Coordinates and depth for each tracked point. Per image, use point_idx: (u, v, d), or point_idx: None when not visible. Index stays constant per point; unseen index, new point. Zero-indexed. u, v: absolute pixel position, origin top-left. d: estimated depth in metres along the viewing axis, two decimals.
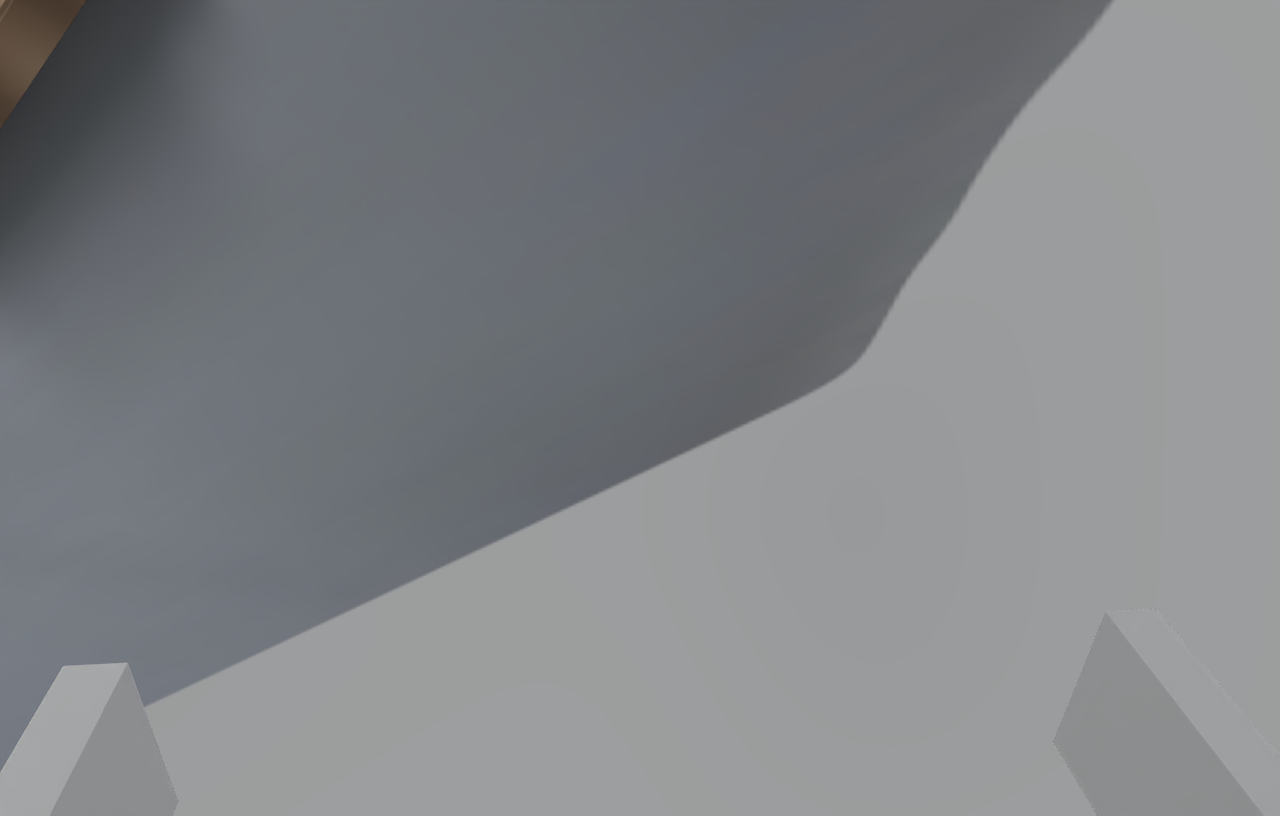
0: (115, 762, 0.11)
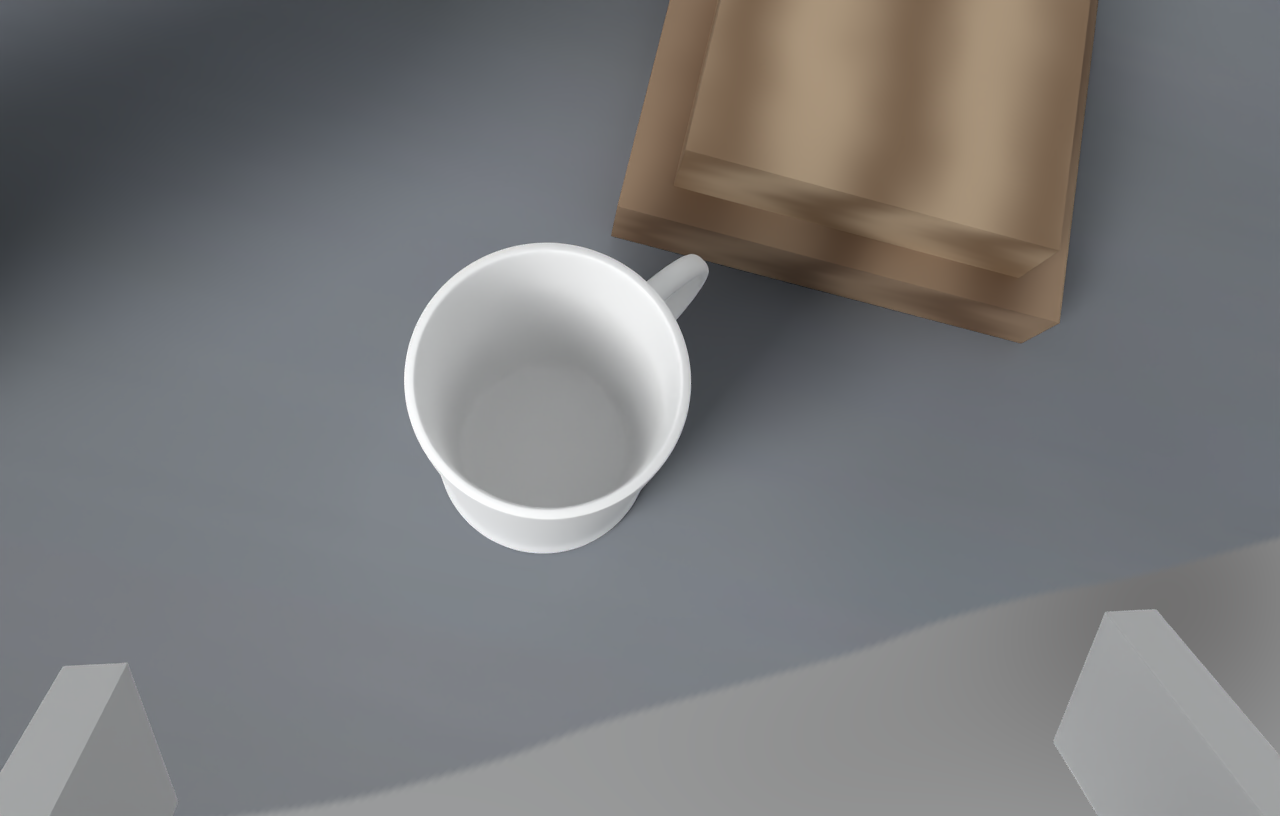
0: (115, 762, 0.11)
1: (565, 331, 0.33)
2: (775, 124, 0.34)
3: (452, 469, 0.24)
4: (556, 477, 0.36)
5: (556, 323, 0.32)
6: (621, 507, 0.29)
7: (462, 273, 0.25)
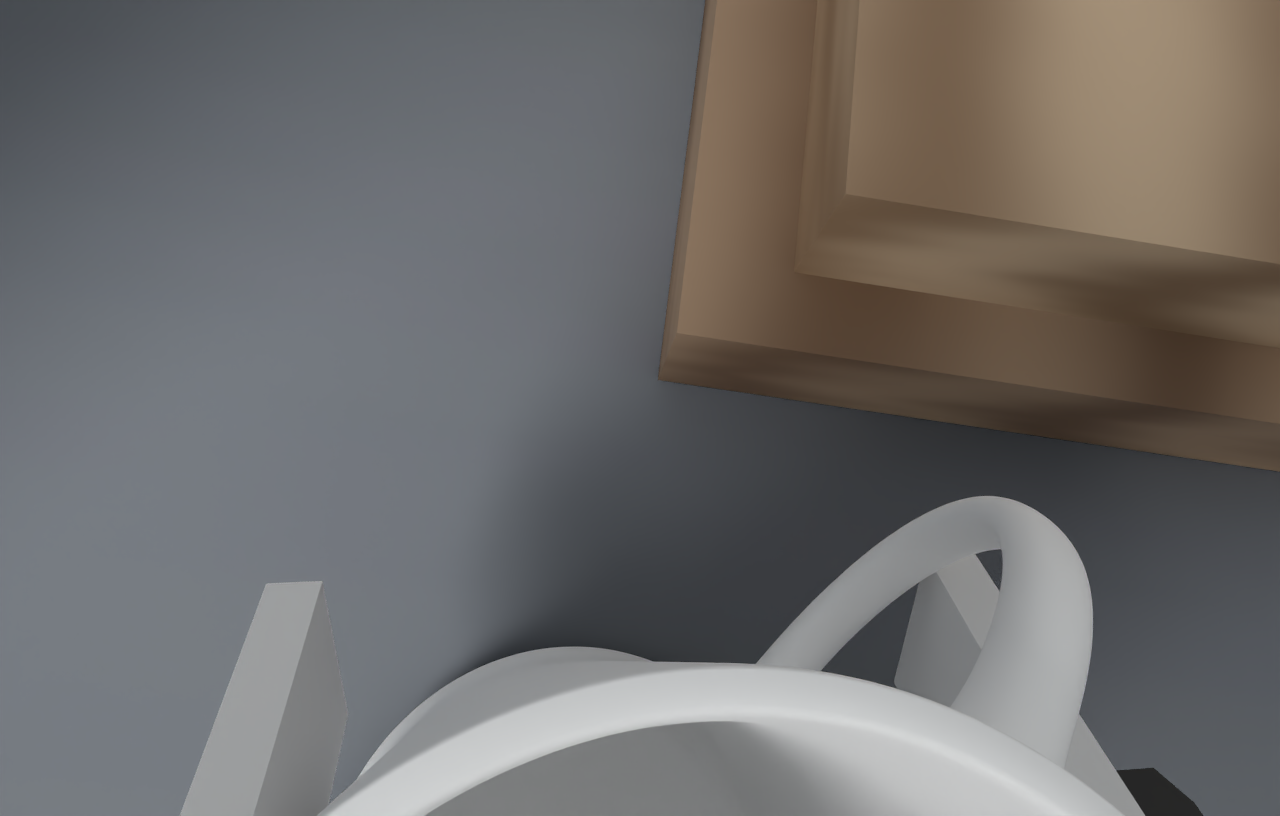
0: (317, 666, 0.12)
1: None
2: (1047, 110, 0.14)
3: None
4: None
5: None
6: None
7: None
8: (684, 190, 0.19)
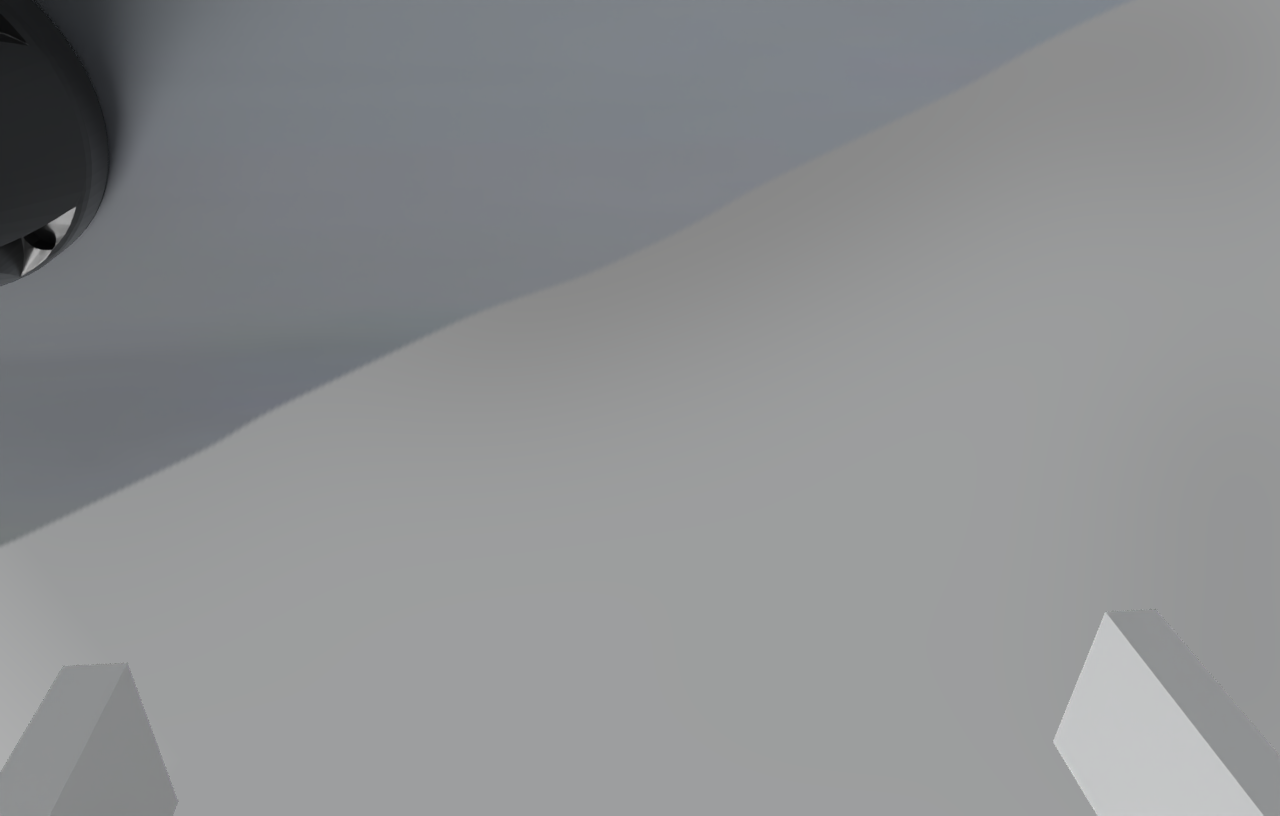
0: (115, 762, 0.11)
1: None
2: None
3: None
4: None
5: None
6: None
7: None
8: None
